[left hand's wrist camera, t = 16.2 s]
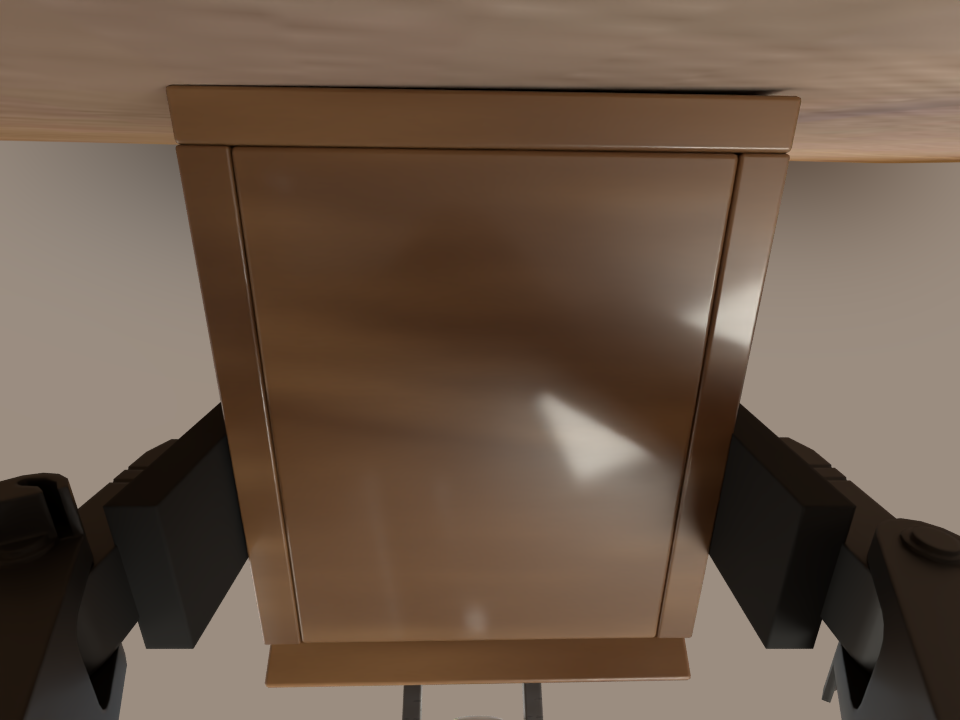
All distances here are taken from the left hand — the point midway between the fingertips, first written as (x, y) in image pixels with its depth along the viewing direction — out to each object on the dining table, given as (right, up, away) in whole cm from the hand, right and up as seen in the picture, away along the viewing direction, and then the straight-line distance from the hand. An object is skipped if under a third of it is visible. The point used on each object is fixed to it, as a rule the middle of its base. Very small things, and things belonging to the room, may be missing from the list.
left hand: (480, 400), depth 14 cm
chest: (0, +7, 0) cm, 7 cm away
